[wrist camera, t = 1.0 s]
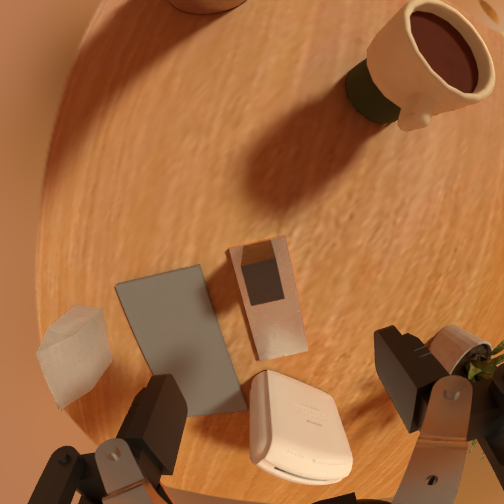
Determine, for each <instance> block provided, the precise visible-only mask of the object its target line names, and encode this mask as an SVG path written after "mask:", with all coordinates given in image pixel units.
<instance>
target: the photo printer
mask: <svg viewBox="0 0 504 504" xmlns="http://www.w3.org/2000/svg"><path fill="white" fill-rule="evenodd" d="M251 387H252V389H251V390H250V459H251V461H252V463H253V464H254V465H256V466H257V467H259V468H260V469H262V470H263V471H265V472H267V473H269V474H271V475H273V476H276V477H278V478H281V479H284V480H287V481H291V482H295V483H300V484H307V485H326V484H332V483H336V482H339V481H341V479H343V478H344V477H346V476H348V475H349V473H350V471H351V468H352V464H353V457H352V453H351V450H350V447H349V443H348V440H347V437H346V434H345V431H344V428H343V425H342V422H341V419H340V416H339V413H338V410H337V407H336V404H335V402H334V399H333V398H332V397H331V396H330V395H329V394H327V393H325V392H323V391H321V390H319V389H316V388H314V387H312V386H309V385H307V384H305V383H302V382H300V381H298V380H295V379H293V378H290V377H288V376H285V375H283V374H280V373H278V372H275V371H271V370H267V371H263V372H261V373H259V374H257V375H256V376H255V377H254V378H253V380H252V384H251Z"/></svg>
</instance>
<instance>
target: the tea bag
mask: <svg viewBox="0 0 504 504" xmlns="http://www.w3.org/2000/svg"><path fill="white" fill-rule="evenodd" d="M36 355H37V358H38V360H39V363H40V366H41V369H42V371H43V374H44V377H45V379H46V381H47V384H48V386H49V389H50V391H51V393H52V396H53V398H54V400H55V402H56V404H57V406H58V409H59V408H61V410H63V409H64V408H65V407H66V406H68V405H69V404H70V403H72V402H73V401H75V400H77V399H78V398H80V397H82V396H83V395H85V394H87V393H88V392H90V391H92V390H93V388H94V387H95V385H96V384H97V382H98V381H99V379H100V378H101V376H102V375H103V374H104V372H105V371H106V369H107V368H108V366H109V365H110V363H111V362H112V361H113V358H112V354H111V349H110V345H109V341H108V336H107V331H106V326H105V321H104V316H103V310H102V308H96V307H88V306H80V305H75V306H74V307H72V308H71V309H70V310H69V311H67V312H66V313H65V314H64V315H63V316H61V317H60V318H59V319H58V320H57V321H55V322H54V323H53V324H52V325H51V326H49V327H48V328H47V330H46V332H45V335H44V338H43V340H42V343H41V345H40V347H39V348H38V350H37V351H36Z"/></svg>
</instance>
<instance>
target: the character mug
mask: <svg viewBox="0 0 504 504" xmlns="http://www.w3.org/2000/svg"><path fill="white" fill-rule="evenodd" d="M494 84H495V70H494V65H493V60H492V58H491V55H490V53H489V51H488V49H487V46H486V44H485V42H484V41H483V39H482V38H481V36H480V35H479V33H478V32H477V31H476V29H475V28H474V26H473V25H472V24H471V23H470V22H469V21H468V20H467V19H466V18H465V17H464V16H463V15H462V14H461V13H459V12H458V11H457V10H456V9H454V8H452V7H451V6H449V5H447V4H445V3H444V2H442V1H440V0H410V1H409V2H407V3H406V4H405V5H404V6H403V7H402V8H401V9H400V10H399V11H398V12H397V13H396V14H395V15H394V17H393V18H392V19H391V20H390V21H389V22H388V23H387V24H386V25H385V26H384V27H383V28H382V29H381V30H380V31H379V32H378V33H377V35H376V36H375V38H374V39H373V41H372V42H371V44H370V45H369V47H368V49H367V58H366V59H365V60H363V61H362V62H360V63H359V64H358V65H356V66H355V67H354V68H353V69H351V70H350V71H349V73H348V76H347V79H346V82H345V85H346V90H347V95H348V98H349V100H350V101H351V102H352V104H353V105H354V107H355V108H356V110H357V111H358V112H360V113H361V114H362V115H364V116H365V117H366V118H367V119H369V120H371V121H374V122H377V123H380V124H386V123H390V122H395V121H396V120H398V126H399V128H400V129H401V130H403V131H412V130H416V129H420V128H424V127H426V126H427V125H429V123H430V120H431V118H432V116H435V115H438V114H440V113H443V112H447V111H454V110H457V109H459V108H462V107H465V106H467V105H471V104H475V103H477V102H480V101H481V100H483V99H485V98H486V97H488V96H489V95H490V94H491V92H492V90H493V88H494Z"/></svg>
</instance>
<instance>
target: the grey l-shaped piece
mask: <svg viewBox="0 0 504 504" xmlns="http://www.w3.org/2000/svg"><path fill="white" fill-rule="evenodd" d="M229 251H230V255H231V259H232V262H233V266H234V270H235V273H236V277H237V281H238V284H239V288H240V292H241V295H242V299H243V303H244V306H245V310H246V313H247V317H248V321H249V324H250V328H251V331H252V335H253V338H254V342H255V345H256V349H257V352H258V356H259V359H260V361H263V360H268V359H273V358H278V357H283V356H288V355H292V354H296V353H301V352H305V351H308V346H307V340H306V335H305V330H304V324H303V319H302V314H301V309H300V304H299V299H298V294H297V289H296V284H295V279H294V274H293V269H292V264H291V259H290V255H289V250H288V245H287V241H286V236H285V235H281V236H277V237H273V238H268V239H264V240H260V241H256V242H251V243H247V244H243V245H238V246H234V247H230V248H229Z"/></svg>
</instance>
